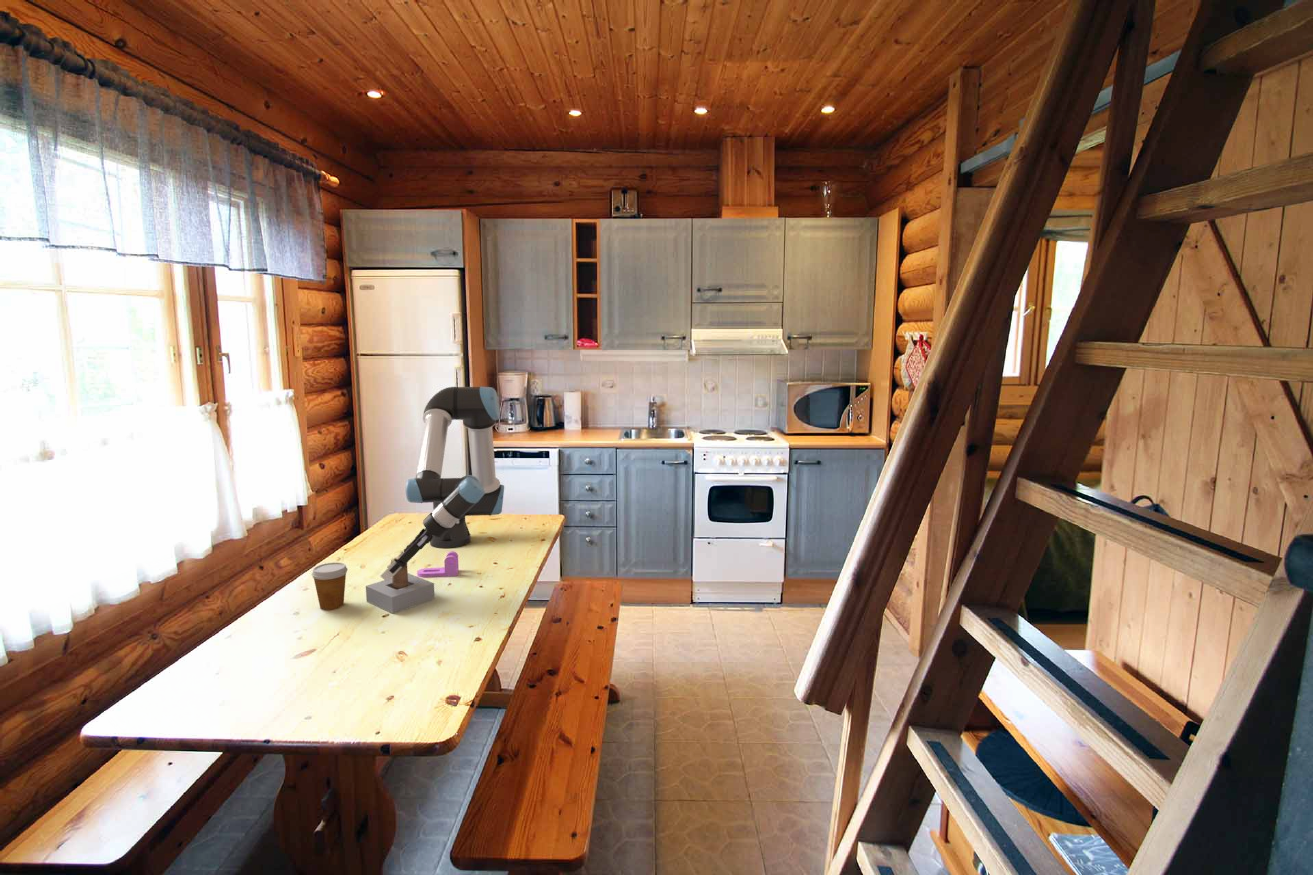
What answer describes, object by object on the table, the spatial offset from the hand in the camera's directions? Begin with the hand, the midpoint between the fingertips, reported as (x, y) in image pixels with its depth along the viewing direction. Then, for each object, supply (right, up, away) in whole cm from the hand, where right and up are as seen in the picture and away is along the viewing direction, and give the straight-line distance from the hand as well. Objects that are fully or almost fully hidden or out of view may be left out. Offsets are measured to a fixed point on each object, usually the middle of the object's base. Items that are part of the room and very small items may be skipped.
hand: (387, 573), depth 199 cm
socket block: (+3, -8, +2) cm, 9 cm away
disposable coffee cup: (-15, -9, -3) cm, 18 cm away
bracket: (+7, -5, +24) cm, 26 cm away
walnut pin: (+3, -8, +2) cm, 9 cm away
